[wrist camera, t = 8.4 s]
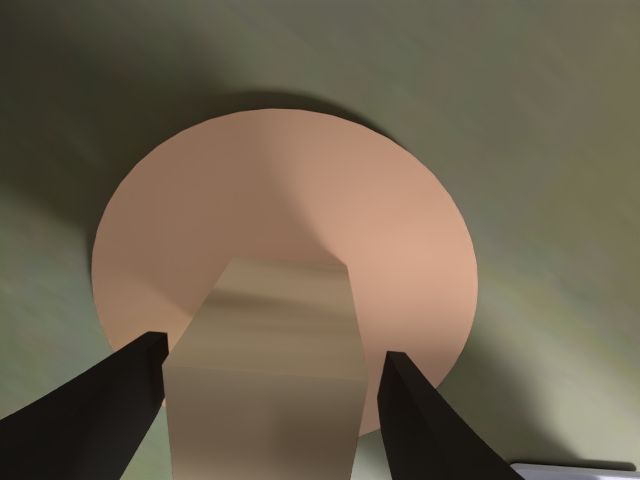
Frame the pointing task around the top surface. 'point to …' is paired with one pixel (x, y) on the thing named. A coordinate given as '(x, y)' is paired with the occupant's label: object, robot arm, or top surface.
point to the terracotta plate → (290, 233)
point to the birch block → (268, 376)
